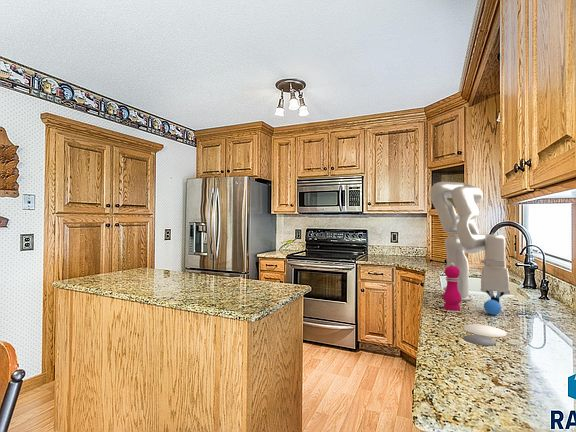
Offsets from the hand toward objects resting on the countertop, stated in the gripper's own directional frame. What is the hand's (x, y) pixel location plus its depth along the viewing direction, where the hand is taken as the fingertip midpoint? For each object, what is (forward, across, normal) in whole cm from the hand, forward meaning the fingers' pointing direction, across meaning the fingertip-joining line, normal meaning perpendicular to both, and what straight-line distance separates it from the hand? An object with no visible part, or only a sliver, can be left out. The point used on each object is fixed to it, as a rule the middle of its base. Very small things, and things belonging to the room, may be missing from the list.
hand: (495, 306), depth 140 cm
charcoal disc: (+2, -1, -45) cm, 45 cm away
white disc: (+2, -1, -33) cm, 33 cm away
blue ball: (-1, 0, -8) cm, 9 cm away
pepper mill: (+2, -15, -9) cm, 18 cm away
